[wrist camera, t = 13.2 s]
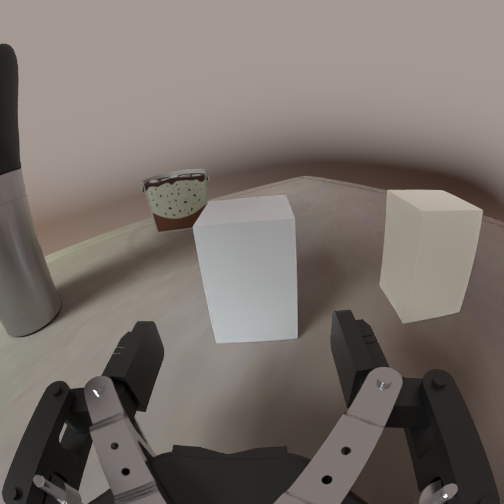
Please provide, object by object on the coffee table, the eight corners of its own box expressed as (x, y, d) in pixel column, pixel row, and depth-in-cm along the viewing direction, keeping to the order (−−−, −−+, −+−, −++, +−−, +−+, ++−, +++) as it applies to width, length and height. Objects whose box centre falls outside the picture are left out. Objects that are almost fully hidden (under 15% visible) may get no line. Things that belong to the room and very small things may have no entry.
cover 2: (403, 323, 21) (422, 211, 17) (379, 285, 27) (387, 190, 23) (459, 312, 21) (482, 210, 17) (430, 278, 27) (442, 190, 23)
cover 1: (216, 343, 22) (192, 226, 18) (224, 299, 28) (209, 201, 24) (297, 338, 22) (294, 218, 18) (290, 294, 28) (285, 194, 24)
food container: (218, 216, 55) (211, 165, 51) (216, 226, 50) (208, 169, 46) (158, 224, 55) (148, 175, 51) (150, 234, 49) (139, 181, 45)
